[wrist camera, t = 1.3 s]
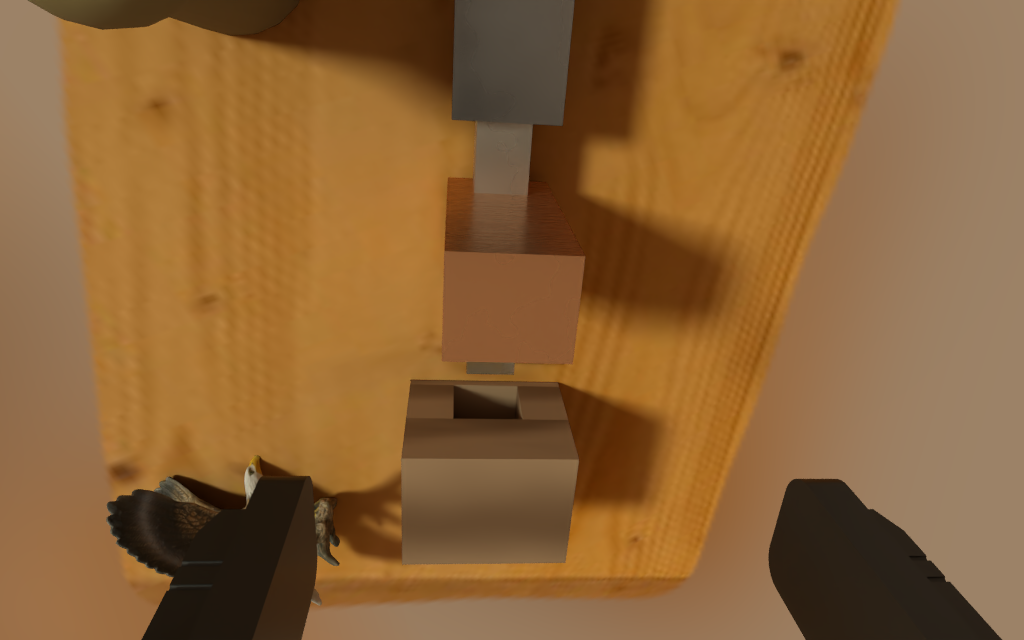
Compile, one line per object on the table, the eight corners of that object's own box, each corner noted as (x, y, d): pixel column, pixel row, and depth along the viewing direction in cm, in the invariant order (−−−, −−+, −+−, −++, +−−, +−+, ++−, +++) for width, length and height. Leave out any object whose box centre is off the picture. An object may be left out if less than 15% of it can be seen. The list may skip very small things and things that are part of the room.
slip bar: (455, -126, 22) (455, -206, 14) (572, -115, 22) (638, -186, 14) (443, 347, 30) (439, 475, 22) (531, 349, 30) (559, 475, 22)
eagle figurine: (324, 417, 30) (106, 446, 28) (337, 578, 27) (88, 626, 24) (336, 473, 36) (160, 500, 34) (348, 609, 33) (151, 649, 31)
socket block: (411, 379, 31) (401, 458, 25) (557, 382, 31) (579, 459, 26) (410, 474, 33) (402, 564, 28) (547, 474, 34) (565, 562, 28)
